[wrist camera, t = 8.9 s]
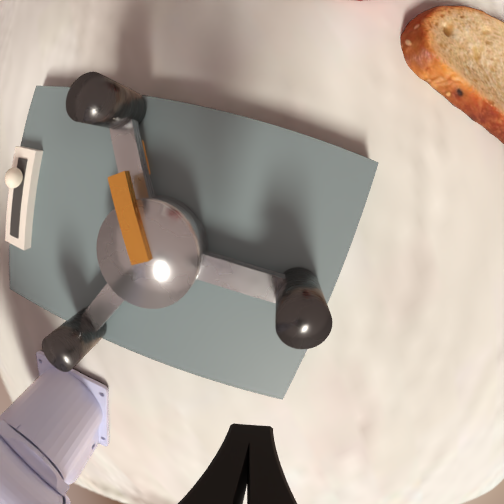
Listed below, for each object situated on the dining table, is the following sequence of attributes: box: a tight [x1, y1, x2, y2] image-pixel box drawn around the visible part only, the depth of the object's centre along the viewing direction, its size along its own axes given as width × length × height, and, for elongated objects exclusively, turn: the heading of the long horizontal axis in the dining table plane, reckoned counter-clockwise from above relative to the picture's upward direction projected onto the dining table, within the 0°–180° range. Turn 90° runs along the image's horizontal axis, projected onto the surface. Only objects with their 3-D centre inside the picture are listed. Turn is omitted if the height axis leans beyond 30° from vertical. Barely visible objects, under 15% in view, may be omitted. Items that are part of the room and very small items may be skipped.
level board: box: [5, 86, 378, 399], centre depth 17 cm, size 16×23×4 cm
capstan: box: [42, 72, 332, 372], centre depth 14 cm, size 14×16×4 cm
